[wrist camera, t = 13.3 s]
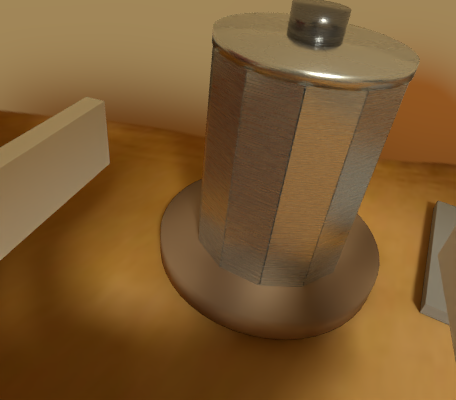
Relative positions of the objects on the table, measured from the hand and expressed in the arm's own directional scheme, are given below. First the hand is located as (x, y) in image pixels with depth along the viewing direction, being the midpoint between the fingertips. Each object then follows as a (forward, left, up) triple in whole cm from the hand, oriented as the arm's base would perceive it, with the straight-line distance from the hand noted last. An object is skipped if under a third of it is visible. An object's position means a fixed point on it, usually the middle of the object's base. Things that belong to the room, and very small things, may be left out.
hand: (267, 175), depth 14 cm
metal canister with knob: (+1, -7, -9) cm, 12 cm away
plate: (+1, -8, -10) cm, 13 cm away
